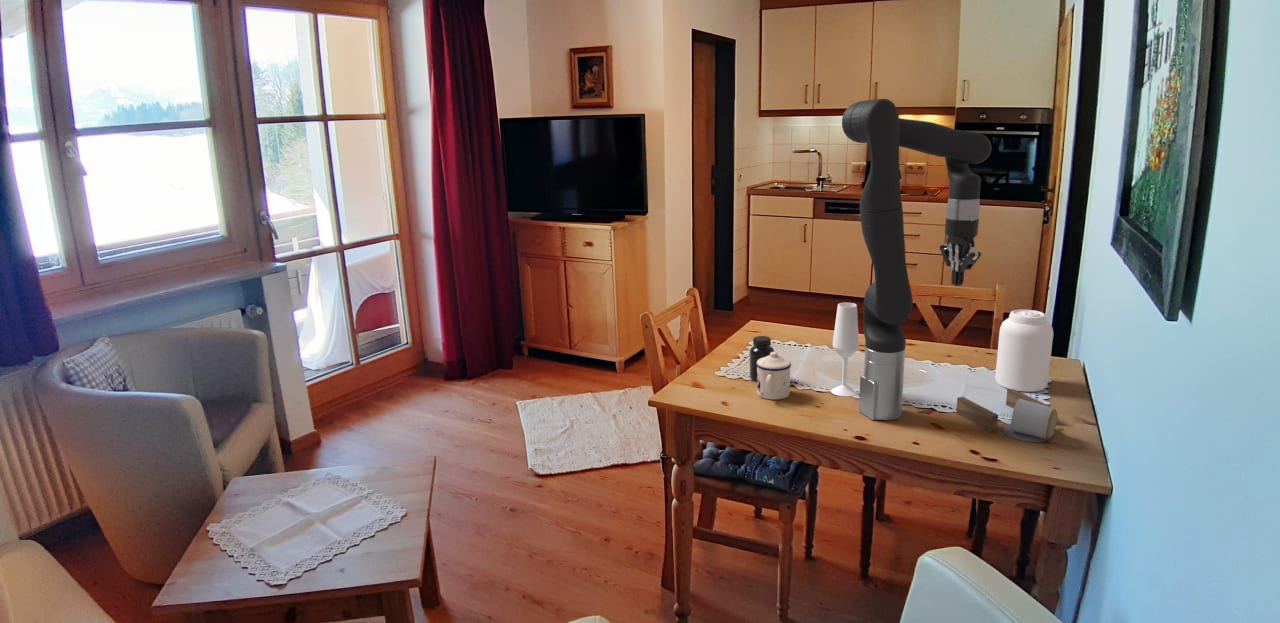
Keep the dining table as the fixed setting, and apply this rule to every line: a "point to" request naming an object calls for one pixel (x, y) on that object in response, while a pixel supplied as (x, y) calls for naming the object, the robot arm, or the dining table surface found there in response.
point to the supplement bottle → (759, 353)
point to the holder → (985, 416)
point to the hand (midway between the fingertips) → (957, 284)
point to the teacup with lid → (773, 377)
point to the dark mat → (1021, 435)
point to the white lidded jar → (1024, 351)
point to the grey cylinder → (1033, 419)
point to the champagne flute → (845, 342)
